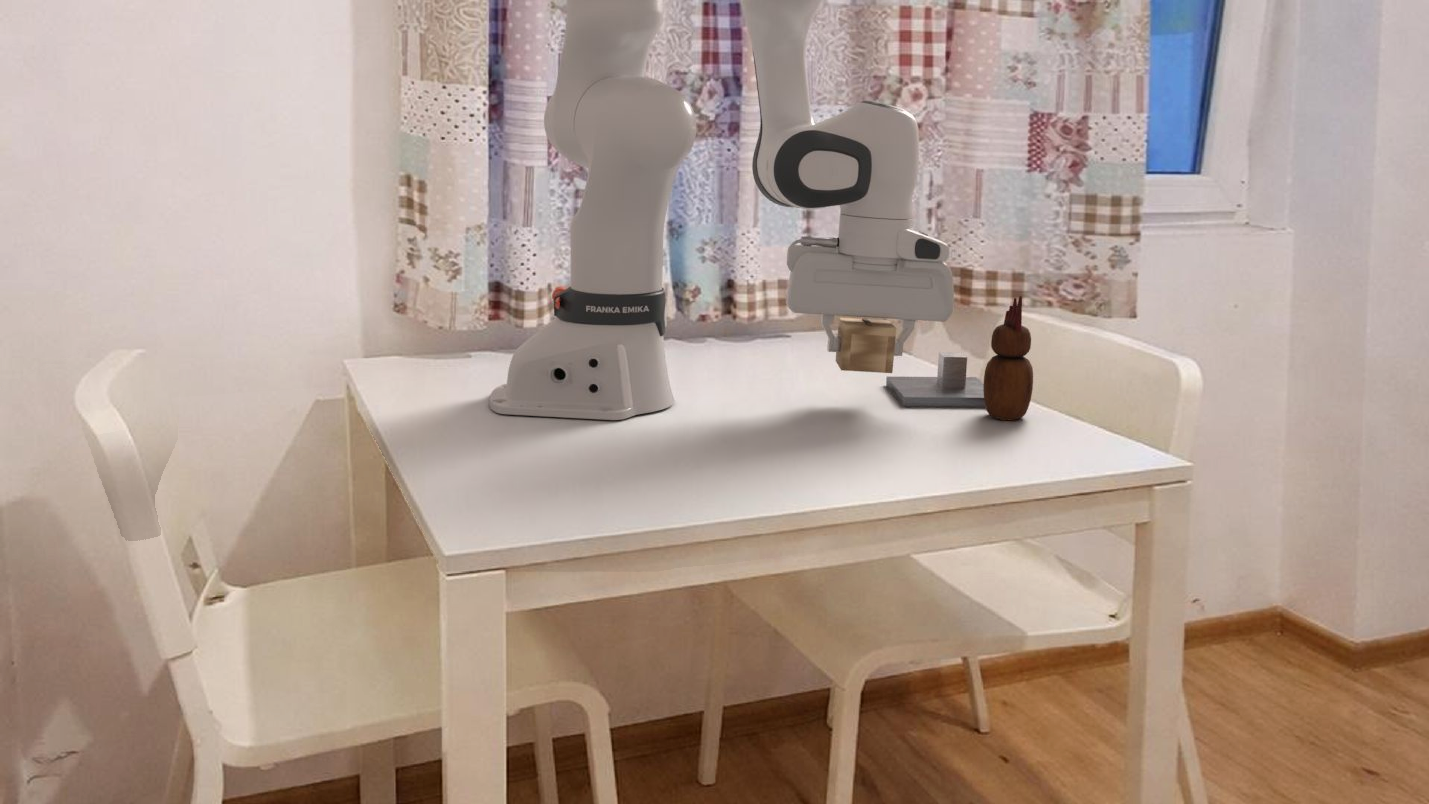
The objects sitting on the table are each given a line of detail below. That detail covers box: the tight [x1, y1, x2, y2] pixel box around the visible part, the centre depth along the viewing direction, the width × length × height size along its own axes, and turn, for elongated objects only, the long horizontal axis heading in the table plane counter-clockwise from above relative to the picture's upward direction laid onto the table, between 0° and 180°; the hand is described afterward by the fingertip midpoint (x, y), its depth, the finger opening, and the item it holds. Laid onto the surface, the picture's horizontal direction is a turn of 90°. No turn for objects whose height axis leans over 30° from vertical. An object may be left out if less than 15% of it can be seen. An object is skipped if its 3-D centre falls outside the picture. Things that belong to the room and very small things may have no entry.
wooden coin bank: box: [835, 317, 897, 374], centre depth 162 cm, size 6×6×6 cm
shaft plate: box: [885, 351, 986, 408], centre depth 169 cm, size 12×12×5 cm
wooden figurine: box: [983, 295, 1034, 421], centre depth 157 cm, size 7×6×15 cm
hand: (864, 353), depth 162 cm, fingers closed on wooden coin bank, 6 cm apart
